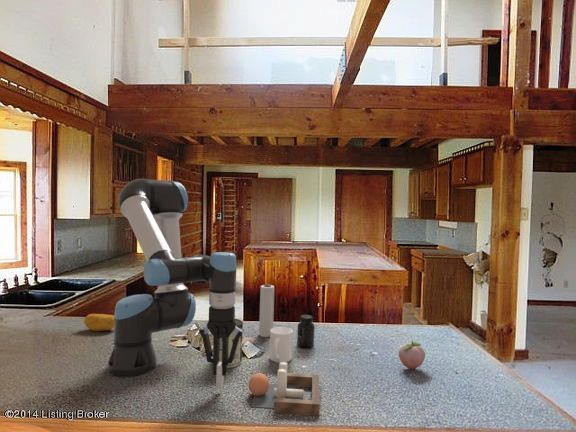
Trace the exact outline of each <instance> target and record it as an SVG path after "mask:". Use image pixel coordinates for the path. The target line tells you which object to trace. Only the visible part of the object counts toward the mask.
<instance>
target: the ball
mask: <svg viewBox="0 0 576 432" xmlns="http://www.w3.org/2000/svg"><path fill="white" fill-rule="evenodd" d="M269 384H270V380H269V378H268V376H266V374H263V373H261V372H260V373H258V372H257V373H255V374H253V375H252V376H251V377H250V379H249V381H248V388H249V389H248V390H249V392H250V393H251V394H252V395H254V396H255V395H256V396H261V395H264V394H265V393H266V392H267V391H268V389H269Z"/></svg>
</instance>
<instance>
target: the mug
mask: <svg viewBox="0 0 576 432" xmlns="http://www.w3.org/2000/svg"><path fill="white" fill-rule="evenodd" d="M293 338H294V330H293V329H292V328H289V327H285V326H279V327H278V326H277V327H273V328H272V329H271V330H270V337H269V359H270V360H271V362H275V363H278V364H279V363H281V362H286V363H288V362H290V361H291V360H292V358H293V346H294V345H293V343H294V341H293V340H294V339H293Z"/></svg>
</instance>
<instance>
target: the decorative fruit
mask: <svg viewBox="0 0 576 432" xmlns="http://www.w3.org/2000/svg"><path fill="white" fill-rule="evenodd" d="M398 358H399V361H400V362H401V363H402V365H403V366H404V367H405V368H407V369H409V370H411V371H413V370H416V369H417V368H420V366H422V364H423V363H424V361H425V358H426V352H425V350H424V348H423V347H422V343H419V342H417V341H414V340H411V342H407V343H404V344H402V345H401V346H400V347H399V350H398Z"/></svg>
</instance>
